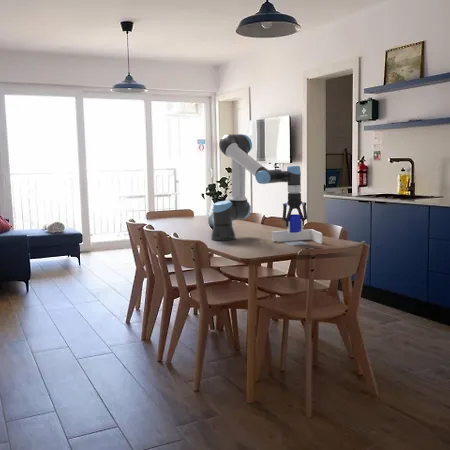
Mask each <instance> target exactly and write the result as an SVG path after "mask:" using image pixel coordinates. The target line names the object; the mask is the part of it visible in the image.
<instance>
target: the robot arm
mask: <svg viewBox="0 0 450 450" xmlns="http://www.w3.org/2000/svg"><path fill="white" fill-rule="evenodd" d="M218 144H219V145H218V148H219V149H220V151H221V153H222V154H223V155H224V156H225V157H227V158H231V197H230V198H229V199H228V200H221V201H217V202H214V203H213V205H212V206H213V207H212V214H213V215H212V216H213V228H212V232H211V240H213V241H220V240H223V241H232V240H235V239H236V233H235V230H234V228H233V227H234V226H233V221H238V220H240V221H241V220H245V219H247V218H248V217H249V216H250V214H251V211H252V207H251V205H250V202H249V201H248V198H247V197H246V171H248V172H249V173H250V174H252V175H253V176H254V178H255V180H256V182H257V183H258V184H261V185H265V184H275V183H276V184H277V183H287V202H284V203H282V219H281V220H282V221H284V222H285V227H286V229H287V230H286V231H287V232H288V233H290V222H289V218H290V215H291V214H292V211H293V210H295V209H296V210H297V212H298V213H297V214H299V215H301V224H300V232H303V230H304V228H303V227H304V226H305V221H306V220H307V219H308V213H307V202H304V201H302V193H301V192H302V187H301V186H302V185H301V179H302V178H301V175H302V171H301V166H300V165H287V167H286V168H287V169H283V168H282V169H281V168H280V169H279V168H277V169H268V168H266V167H265V166H263V165H262V164H261V163H259V162H258V161H257V160H256V159H255V158H253V157H252V156H250V154H249V153H250V152H251V150H252V149H253V143H252V139H251V138H250V137H249V136H248V135H246V134H241V133H239V134H233V133H231V134H225V135H223V136H222V137H221V138H220V140H219V143H218ZM288 206H289V208H288V211H287V207H288ZM301 206H302V210H301Z"/></svg>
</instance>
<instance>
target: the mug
mask: <svg viewBox="0 0 450 450" xmlns="http://www.w3.org/2000/svg"><path fill="white" fill-rule="evenodd" d="M289 222H290V232H291V233H296V232H299V231H300V224H301V215H299V213H297V214H294V213H293V214H292V213H291V215H290V218H289Z"/></svg>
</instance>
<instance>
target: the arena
mask: <svg viewBox="0 0 450 450" xmlns="http://www.w3.org/2000/svg"><path fill="white" fill-rule="evenodd" d="M297 240H301V241H306V240H307V241H308V240H311V241H313V242H316V243H317V244H320V245H321V244H323V233H322V232H320V231H317V230H315V229H313V228H309V229H303V232H300V231H299V232H296V233H291V232H290V233H288V232H287V230H277V231H276V230H275V231H271V242H274V241H277V242H282V241H297ZM274 243H275V242H274Z"/></svg>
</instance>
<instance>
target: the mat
mask: <svg viewBox="0 0 450 450" xmlns="http://www.w3.org/2000/svg"><path fill="white" fill-rule="evenodd" d="M281 242H282V243H284V244H285V245H288V246H290V247H294V245H296V246H307V245H309V243H307V242H305V241H304V240H293V241H281Z"/></svg>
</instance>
